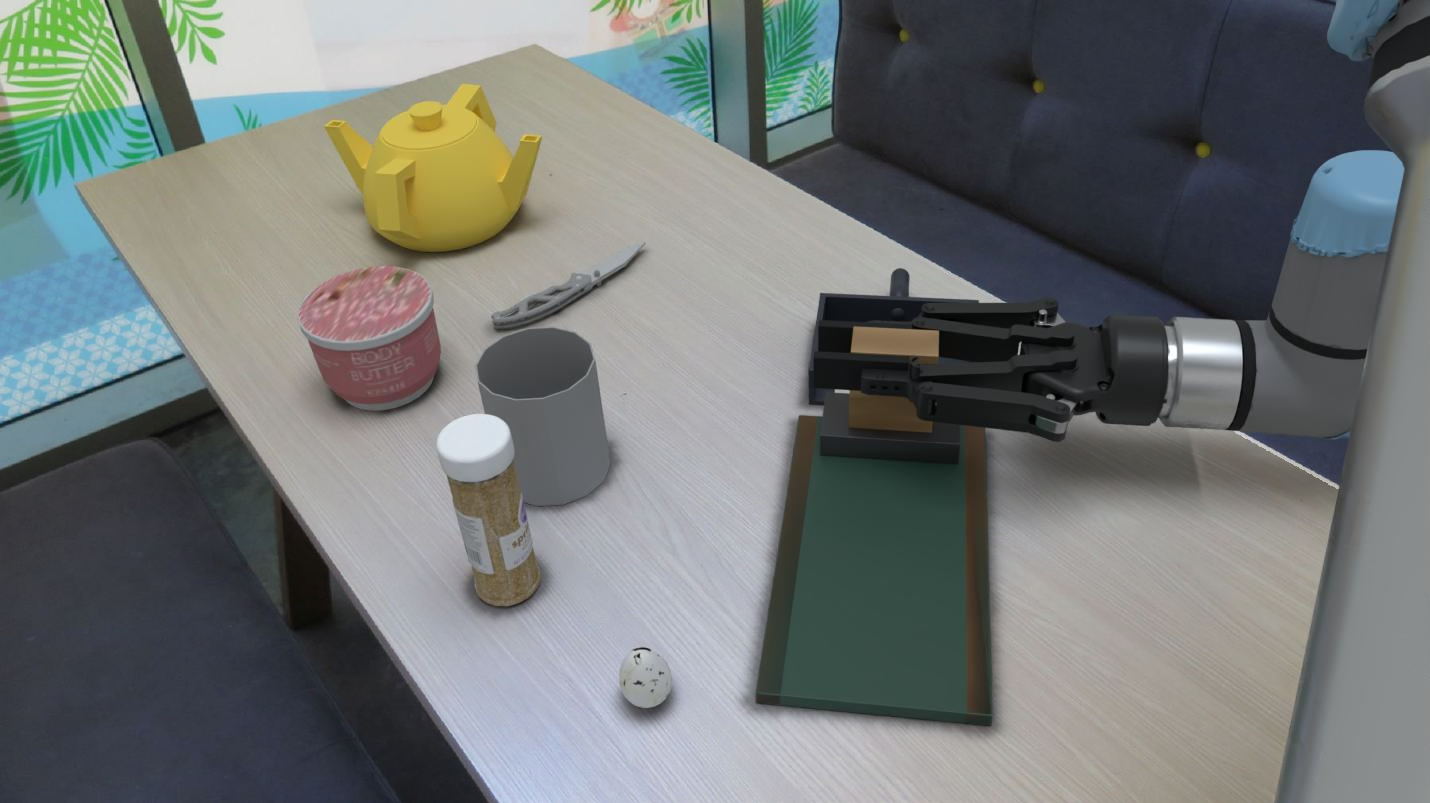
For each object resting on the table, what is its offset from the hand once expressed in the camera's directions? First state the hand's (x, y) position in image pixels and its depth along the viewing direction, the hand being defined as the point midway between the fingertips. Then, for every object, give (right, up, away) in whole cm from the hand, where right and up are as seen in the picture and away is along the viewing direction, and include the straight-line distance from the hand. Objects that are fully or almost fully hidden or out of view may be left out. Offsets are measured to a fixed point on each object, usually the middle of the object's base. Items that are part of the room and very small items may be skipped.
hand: (817, 353), depth 85 cm
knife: (-20, +6, +23) cm, 31 cm away
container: (-34, -2, +14) cm, 37 cm away
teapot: (-34, +15, +34) cm, 50 cm away
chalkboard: (+4, -14, -4) cm, 15 cm away
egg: (-11, -22, -12) cm, 27 cm away
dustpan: (+8, +1, +14) cm, 16 cm away
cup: (-19, -9, +5) cm, 22 cm away
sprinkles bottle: (-21, -16, -4) cm, 27 cm away
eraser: (+6, -6, +4) cm, 9 cm away
